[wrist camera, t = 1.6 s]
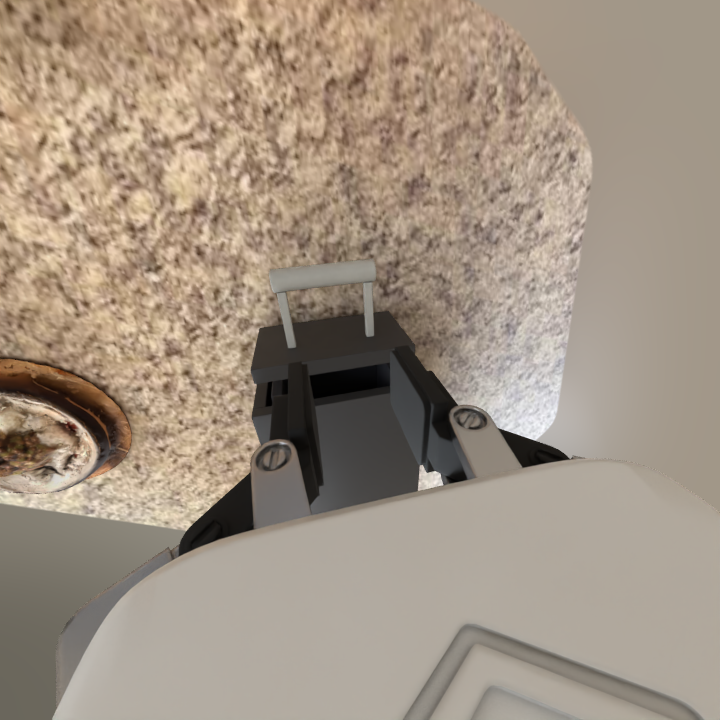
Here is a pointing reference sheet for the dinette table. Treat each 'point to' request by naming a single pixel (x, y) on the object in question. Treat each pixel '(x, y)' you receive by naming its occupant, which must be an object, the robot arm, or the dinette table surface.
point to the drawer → (328, 335)
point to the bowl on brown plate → (55, 429)
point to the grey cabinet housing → (353, 447)
